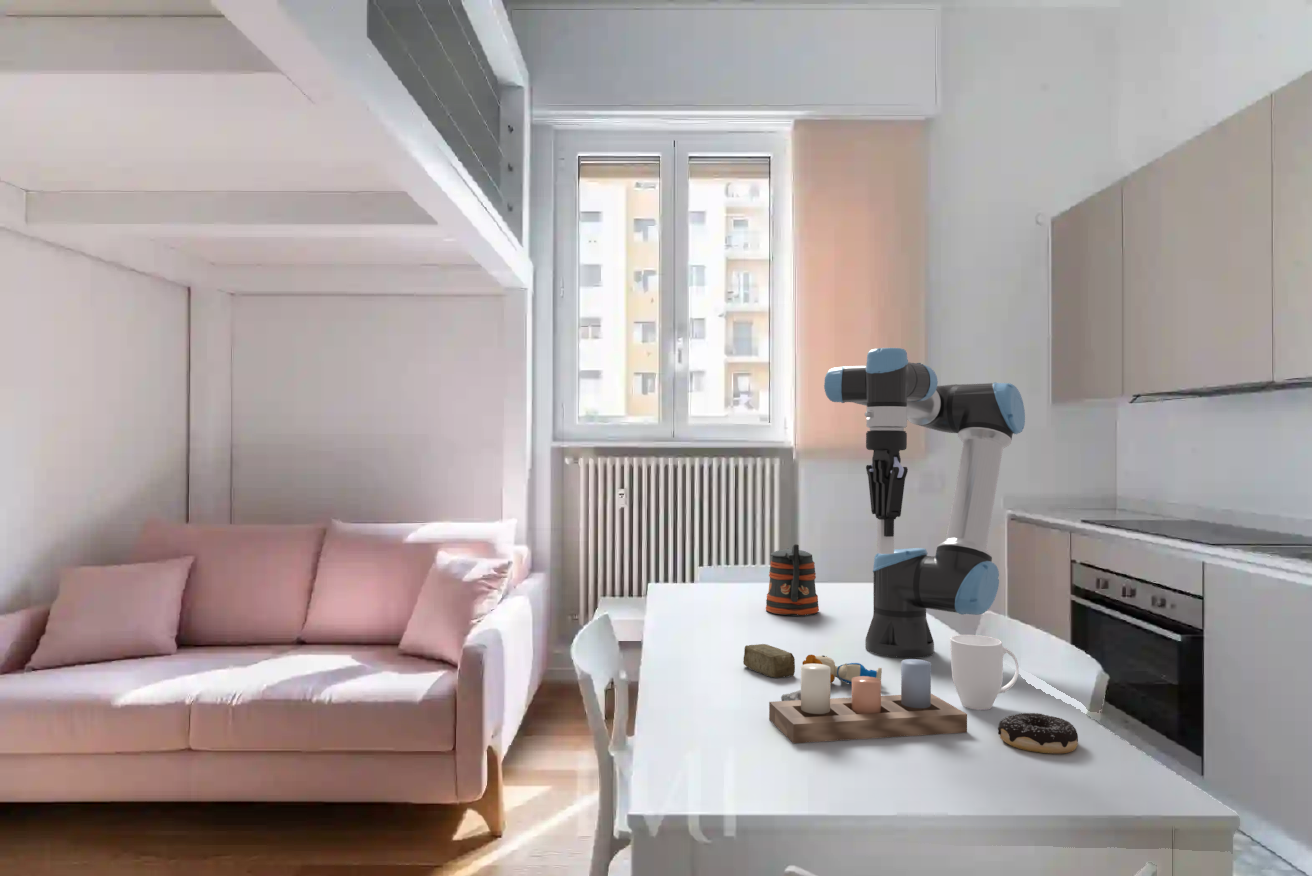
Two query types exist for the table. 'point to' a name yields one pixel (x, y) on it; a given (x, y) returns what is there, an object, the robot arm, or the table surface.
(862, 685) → the cap terracotta
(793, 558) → the beer stein
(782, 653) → the stone block
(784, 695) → the stone
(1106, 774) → the table surface
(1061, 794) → the table surface
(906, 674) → the cap slate
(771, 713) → the wooden compartment tray
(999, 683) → the mug
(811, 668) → the white rounded cylinder
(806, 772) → the table surface
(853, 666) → the toy
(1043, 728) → the donut
